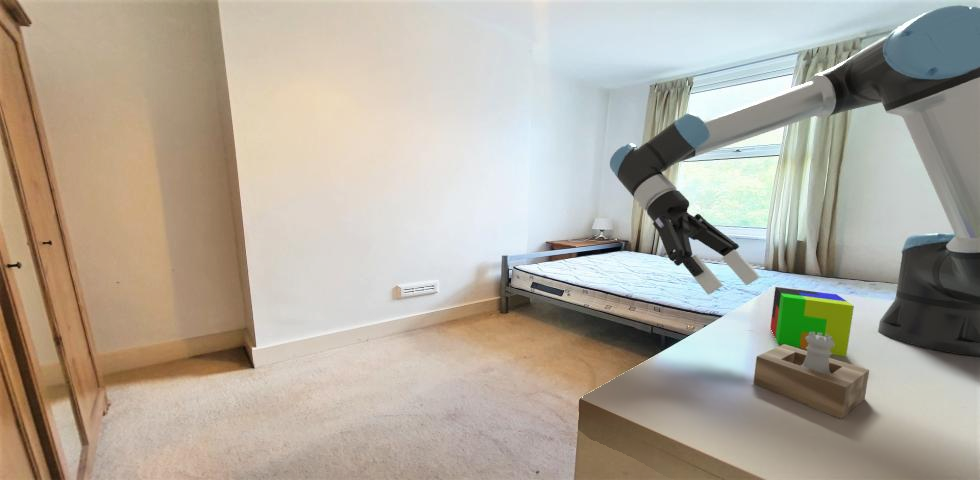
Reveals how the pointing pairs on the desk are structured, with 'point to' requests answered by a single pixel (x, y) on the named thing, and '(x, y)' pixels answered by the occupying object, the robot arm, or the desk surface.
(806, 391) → the socket block
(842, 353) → the puzzle toy
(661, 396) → the desk surface
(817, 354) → the rook chess piece
